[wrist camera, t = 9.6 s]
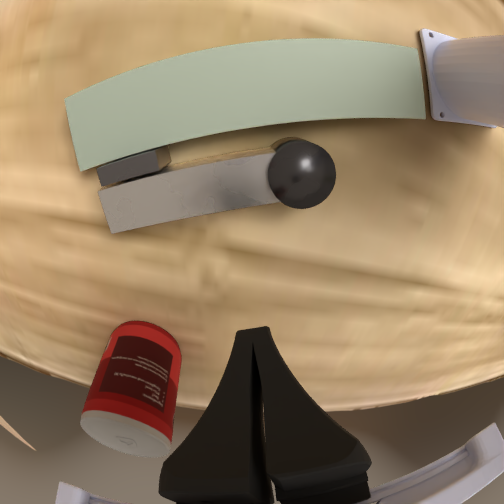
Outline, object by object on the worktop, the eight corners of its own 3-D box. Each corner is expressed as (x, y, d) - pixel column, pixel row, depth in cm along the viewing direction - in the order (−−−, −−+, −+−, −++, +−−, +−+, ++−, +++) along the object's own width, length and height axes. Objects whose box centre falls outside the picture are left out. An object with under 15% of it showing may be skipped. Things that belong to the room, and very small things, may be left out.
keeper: (167, 144, 17) (155, 150, 14) (171, 160, 18) (159, 170, 15) (115, 159, 17) (96, 168, 14) (119, 174, 18) (101, 186, 15)
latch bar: (317, 134, 17) (333, 139, 14) (322, 189, 19) (337, 204, 16) (112, 173, 17) (92, 185, 15) (127, 224, 19) (111, 243, 16)
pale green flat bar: (402, 51, 14) (417, 48, 12) (410, 117, 17) (425, 119, 15) (78, 98, 15) (64, 98, 13) (93, 165, 17) (80, 171, 15)
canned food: (133, 372, 28) (114, 454, 18) (98, 322, 24) (60, 412, 14) (194, 366, 28) (186, 459, 18) (164, 312, 24) (138, 420, 14)
